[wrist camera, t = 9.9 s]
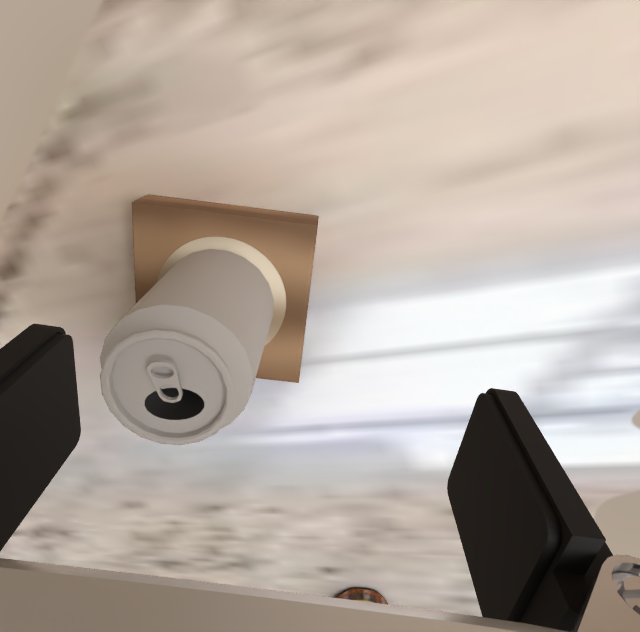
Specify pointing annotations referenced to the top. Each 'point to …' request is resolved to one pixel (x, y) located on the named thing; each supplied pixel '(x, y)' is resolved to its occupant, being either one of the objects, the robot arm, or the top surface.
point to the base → (242, 239)
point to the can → (189, 349)
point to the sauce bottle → (362, 596)
